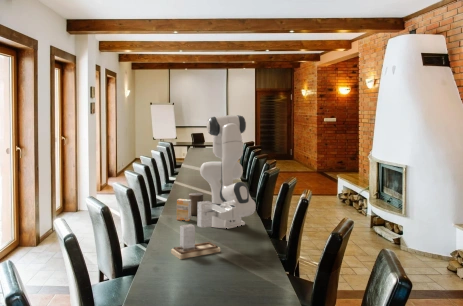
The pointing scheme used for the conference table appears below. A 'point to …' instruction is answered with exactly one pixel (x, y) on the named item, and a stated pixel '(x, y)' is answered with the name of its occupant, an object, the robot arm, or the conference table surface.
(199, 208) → the aluminium billet
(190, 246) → the billet
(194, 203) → the pillar candle
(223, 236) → the conference table surface
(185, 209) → the supplement box
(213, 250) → the wooden compartment tray
